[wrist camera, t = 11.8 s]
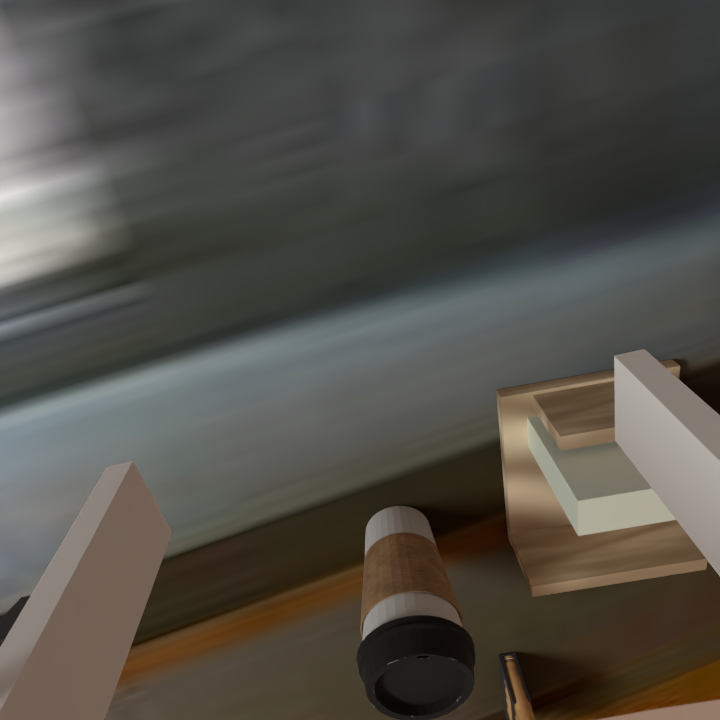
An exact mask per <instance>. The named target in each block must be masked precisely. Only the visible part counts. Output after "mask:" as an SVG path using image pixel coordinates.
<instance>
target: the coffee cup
mask: <svg viewBox="0 0 720 720" xmlns="http://www.w3.org/2000/svg"><path fill="white" fill-rule="evenodd" d="M360 631H361V637H362V639H363V641H362V643H361V645H360V647H359V649H358V653H357V663H358V668H359V674H360V676H361V678H362V680H363V682H364V684H365V688H366V693H367V697H368V699H369V701H370V702H371V704H372V705H373V706H374V707H375V708H376V709H377V710H379V711H380V712H381V713H383V714H385V715H387V716H389V717H393V718H396V719H400V720H429V719H433V718H437V717H440V716H443V715H445V714H448V713H449V712H451V711H453V710H455V709H456V708H458V707H459V706H460V705H461V704H463V703H464V701H465V700H466V699H467V698H468V697H469V695H470V693H471V692H472V690H473V686H474V670H473V668H474V665H475V652H474V643H473V641H472V638H471V637H470V635H469V634H468V632H467V631H466V630H465V629H464V628H463V618H462V615H461V613H460V610H459V607H458V604H457V601H456V599H455V596H454V593H453V590H452V587H451V585H450V582H449V579H448V576H447V573H446V571H445V568H444V565H443V562H442V560H441V557H440V554H439V551H438V549H437V547H436V543H435V540H434V537H433V534H432V531H431V528H430V525H429V522H428V520H427V519H426V517H425V516H424V515H423V514H422V513H421V512H420V511H418V510H416V509H414V508H411V507H407V506H392V507H389V508H385V509H383V510H381V511H379V512H378V513H376V514H375V515H374V516H373V517H372V518H371V519H370V521H369V522H368V525H367V527H366V537H365V561H364V576H363V593H362V609H361V626H360Z"/></svg>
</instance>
